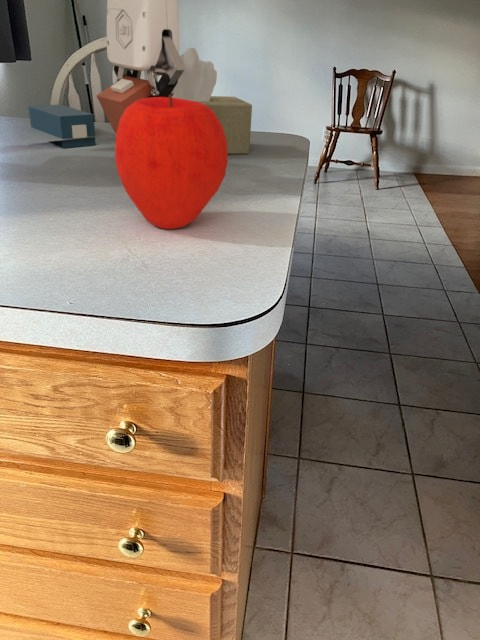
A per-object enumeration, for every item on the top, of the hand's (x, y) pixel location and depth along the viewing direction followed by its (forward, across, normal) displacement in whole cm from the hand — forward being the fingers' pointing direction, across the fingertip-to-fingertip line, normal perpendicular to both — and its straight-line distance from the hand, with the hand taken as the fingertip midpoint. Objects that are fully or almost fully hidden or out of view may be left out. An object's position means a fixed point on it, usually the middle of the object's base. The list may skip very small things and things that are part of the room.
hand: (145, 122), depth 72 cm
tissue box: (+8, -13, +18) cm, 24 cm away
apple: (+8, +17, -8) cm, 20 cm away
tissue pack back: (+8, -29, +2) cm, 30 cm away
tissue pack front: (+2, 0, -3) cm, 3 cm away
